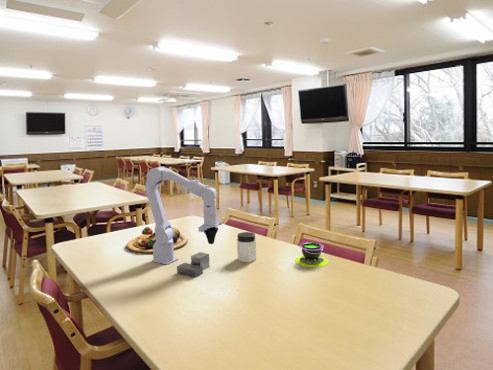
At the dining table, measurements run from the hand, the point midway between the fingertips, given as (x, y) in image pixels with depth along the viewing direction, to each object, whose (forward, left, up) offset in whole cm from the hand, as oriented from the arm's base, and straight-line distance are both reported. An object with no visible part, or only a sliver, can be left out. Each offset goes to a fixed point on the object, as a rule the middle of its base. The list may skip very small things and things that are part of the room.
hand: (211, 243), depth 158 cm
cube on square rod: (0, -8, -9) cm, 12 cm away
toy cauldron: (+39, +24, -9) cm, 47 cm away
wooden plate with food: (-43, +7, -10) cm, 45 cm away
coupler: (0, -11, -9) cm, 14 cm away
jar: (+12, +11, -9) cm, 19 cm away
